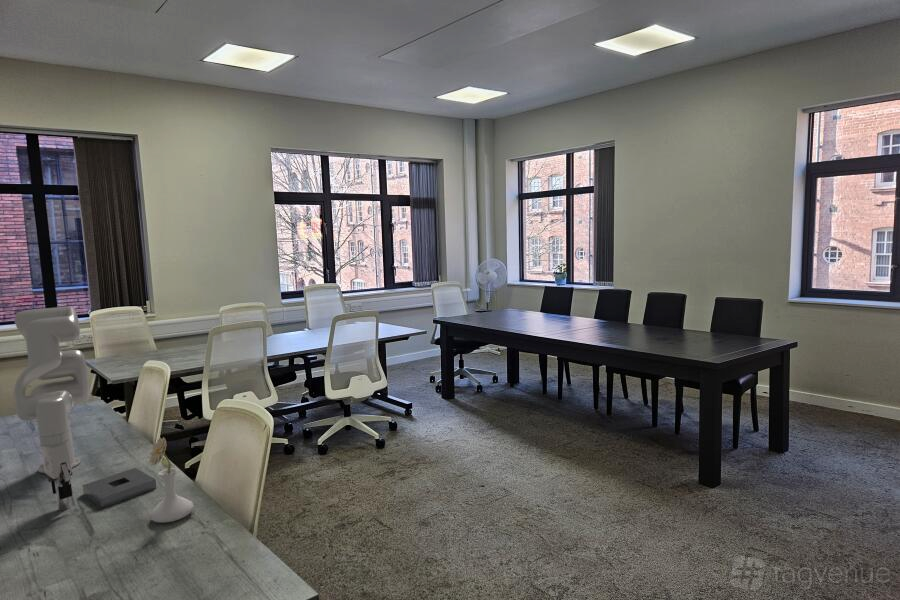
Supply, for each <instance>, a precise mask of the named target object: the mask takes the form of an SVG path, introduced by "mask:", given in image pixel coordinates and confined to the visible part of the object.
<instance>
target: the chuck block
mask: <svg viewBox="0 0 900 600" xmlns="http://www.w3.org/2000/svg"><path fill="white" fill-rule="evenodd" d="M154 488H155V489H156V488H157V480H156V478H154V477H153V476H151V475H149V474H147V473H146V472H144V471H142V470H140V469H139V468H137V467H134V468H131V469H127V470H124V471H121V472H119V473H116V474H112V475H109V476H106V477H103V478H100V479H97V480H95V481H91V482H88V483H86V484H82V492H83V493H82V494H83V495H84V496H85V497H87V498H88V499H89V500H90V501H92V502H94V503H95V504H96V505H97V506H99V507H100V508H101V509H102V508H105V507H108V506H111V505H115V504H116V503H120V502H123V501H126V500H128V499H130V498H132V497H135V496H139V495H140V494H144V493H146V491H147V492H149V491H152V490H155V489H154Z"/></svg>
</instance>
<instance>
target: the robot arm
mask: <svg viewBox="0 0 900 600" xmlns="http://www.w3.org/2000/svg"><path fill="white" fill-rule="evenodd" d="M78 317H79V316H78V313H77V311H76V309H75V308H73V307H71V306H58V307H47V308H35V309H28V310H22V311H20V312H17V313H15V315H14V324H15V326H16V328H17V330H18V332H19V333H20V334H21V336H22V337H23V338H24V339H25V345H26V352H27V358H28V365H27V366H26V368H25V369H24V370H22V372H21V374H20V375H19V376H18V378H17V379H16V381H15V383H14V386H13V387H14V388H13V398H14V407H15V413H16V416H17V418H18V419H19V420H20V421H25V422H29V421H36V424H37V431H38V439H39V446H40V451H41V459H42V464H41V465H40V466H39V467H38V469H37V470H38V472H39V473H40V474H46V475H47V477H49V476H50V477H51V478H53V479H56V478H57V479H58V483H59V487H58V491H59V498H60V499H61V500H62V499H65V498H67V497H69V498H70V497H72V496H73V490H72V481H71V476H70V475H69V474H71V473H72V474H73V470H72V469H73V468H75V467H76V466H78V465H79V464H80V463H81V458H80V457H78V456H76V455H75V449H74V442H73V440H74V439H73V434H72V428H71V425H72V424H71V418H70V417H69V414H68V413H69V412H70V411H71V409H72V408H73V407H74V405H78V404H83V403H87V402H88V401H89V399H90V396H91V391H90V382H89V375H88V367H87V362H86V357H85V354H84V353H83V352H82V351H81V350H79V349H69V350H67V349H66V350H61V348H60V343H64V342H73V341H76V340H77V339H79V337H80V332H81V328H80V321H79V318H78ZM69 377H70V378H69ZM71 377H72V378H71ZM60 378H67V379H63V380H56V381H55V379H60ZM34 380H39V381H46V380H54V381H49V382H44V383H41V384H40V383H39V384H38V385H36V386H34V387H33V388H32V389H31V391H30V395H26V390H27V387H28V386H29V385H30V384H31V383H32V382H33V381H34ZM62 473H63V475H62V476H59V475H60V474H62ZM62 477H64V479H62V482H61V478H62ZM50 483H51V490H52V491H51V492H52V494H53V495H56V489H55V481H52V482H50Z"/></svg>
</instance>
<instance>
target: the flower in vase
mask: <svg viewBox="0 0 900 600" xmlns="http://www.w3.org/2000/svg"><path fill="white" fill-rule="evenodd" d="M167 445H168V444H167V440H166V438H165V437H159V438H158V439H157V440H156V442H153V446H152V451H150V453H149V456H150V458H149V463H150V465H151V466H152V467H153V466H155V465H158V464H159V463H161V465H162V466H163V467H165V469H162V470H161V471H159V472H158V476H159V477H160V478H161V479H162V480H163V483H164V487H165V496H164V498H163V499H162V500H161V501H160V502H159V503H158V504H157V505H156V506H155V507H154V508H153V510H152V511H151V512H150V519H151V520H152V521H153V522H155V523H160V524H161V523H171V522H176V521H178V520H182V519H183V518H185V517H186V516H189V515H190V514H191V513H192V511H193V510H194V507H195V505H194V503H193V501H191V500H189V499H187V498H186V497H183V496H180V495H178V494H177V493H176V490H175V477H176V474H177V472H178V471H179V469H178V468H176V467H172V463H171V462H170V459H169V458H168V456H167V455H166V450H167Z"/></svg>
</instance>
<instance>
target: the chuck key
mask: <svg viewBox="0 0 900 600" xmlns="http://www.w3.org/2000/svg"><path fill="white" fill-rule="evenodd" d="M62 475H63V473H62V474H60V475H59V476H62ZM69 475H70V477H71V476H73V472H72V473H71V474H69ZM46 479H47V482H48V483H51V482H52V481H55V489H56V494H55V495H56V504H57V508H58V511H61V512H64V511H66V510H68V509H70V508H71V502H70V497H67V498H65V499H62V500H61V499H60V498H59V491H58V487H59V483H58V479H57V478H56V479H53V478H51V477H50V476H47V478H46ZM62 479H64V477H62V478H61V482H62Z"/></svg>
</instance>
